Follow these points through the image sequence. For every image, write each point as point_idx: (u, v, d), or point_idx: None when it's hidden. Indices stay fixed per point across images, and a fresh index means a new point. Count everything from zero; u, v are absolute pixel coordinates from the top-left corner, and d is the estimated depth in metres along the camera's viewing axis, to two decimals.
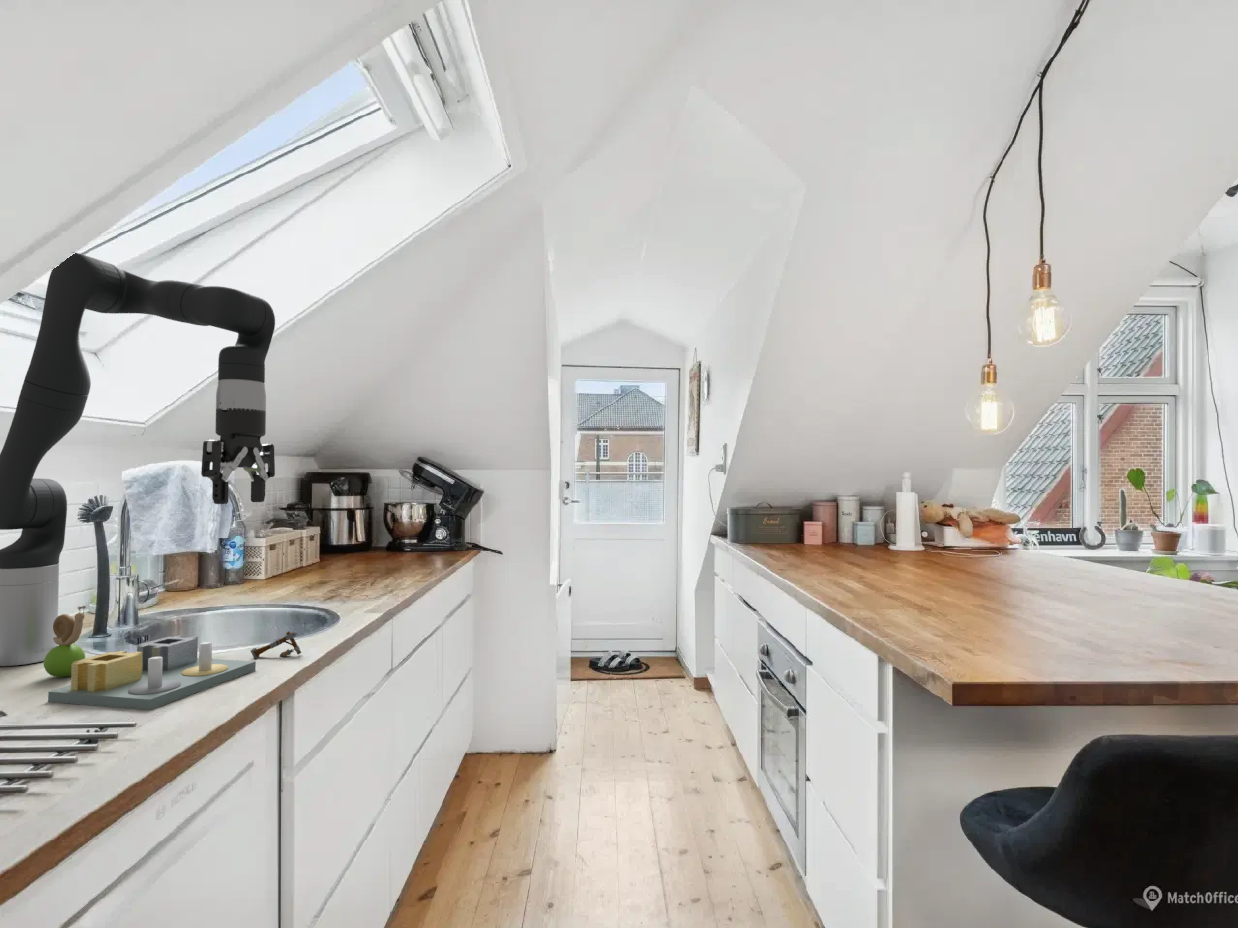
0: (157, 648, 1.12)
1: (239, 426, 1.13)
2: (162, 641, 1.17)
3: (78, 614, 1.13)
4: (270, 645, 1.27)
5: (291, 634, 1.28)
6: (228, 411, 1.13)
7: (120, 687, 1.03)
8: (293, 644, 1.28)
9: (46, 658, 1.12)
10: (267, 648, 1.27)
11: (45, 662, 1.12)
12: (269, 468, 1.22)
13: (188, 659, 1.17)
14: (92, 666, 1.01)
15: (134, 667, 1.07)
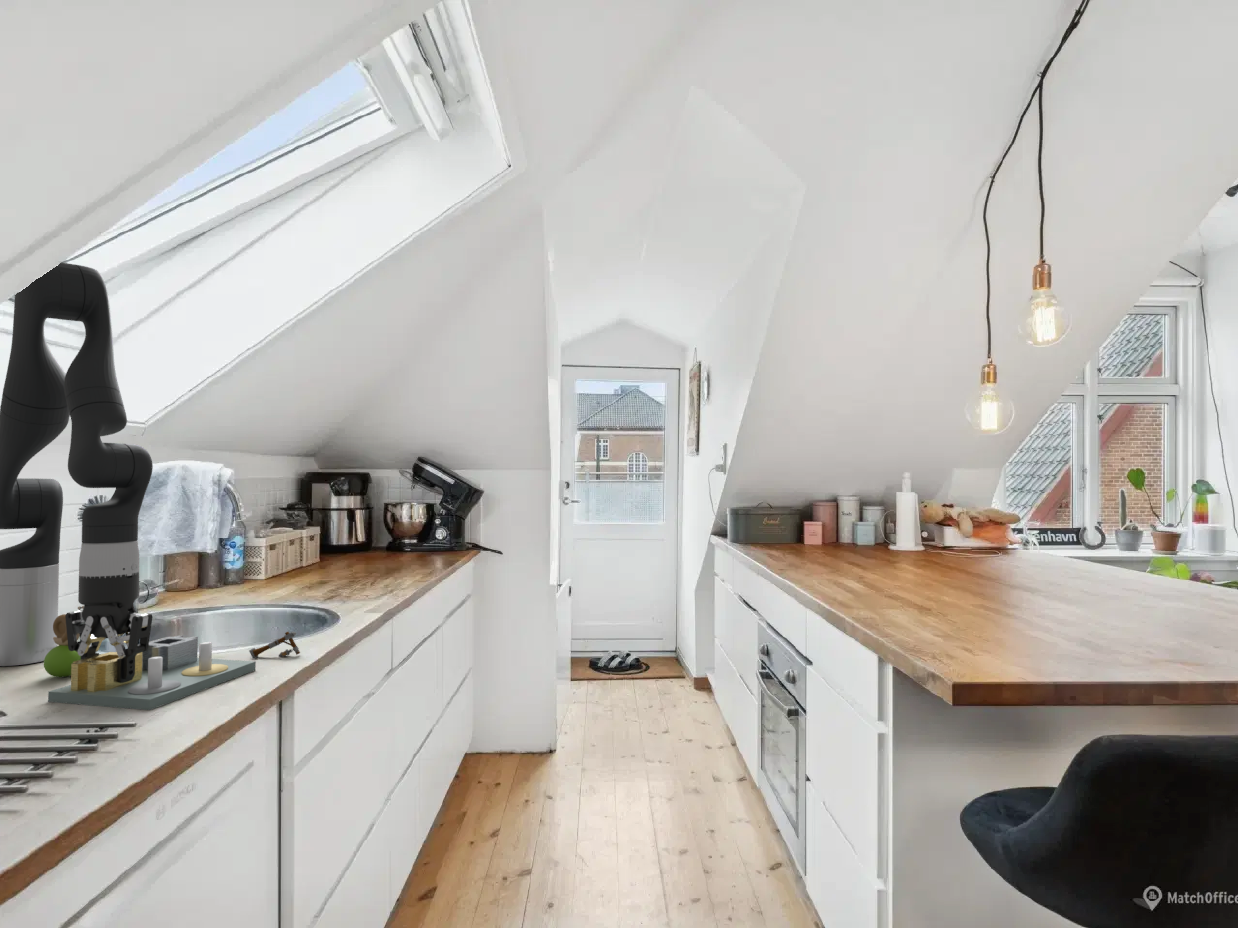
0: (157, 648, 1.12)
1: (138, 591, 1.07)
2: (162, 641, 1.17)
3: None
4: (269, 645, 1.27)
5: (290, 634, 1.28)
6: (133, 576, 1.06)
7: (120, 687, 1.03)
8: (292, 644, 1.28)
9: (46, 658, 1.12)
10: (266, 648, 1.27)
11: (45, 662, 1.12)
12: None
13: (188, 659, 1.17)
14: (92, 666, 1.01)
15: None
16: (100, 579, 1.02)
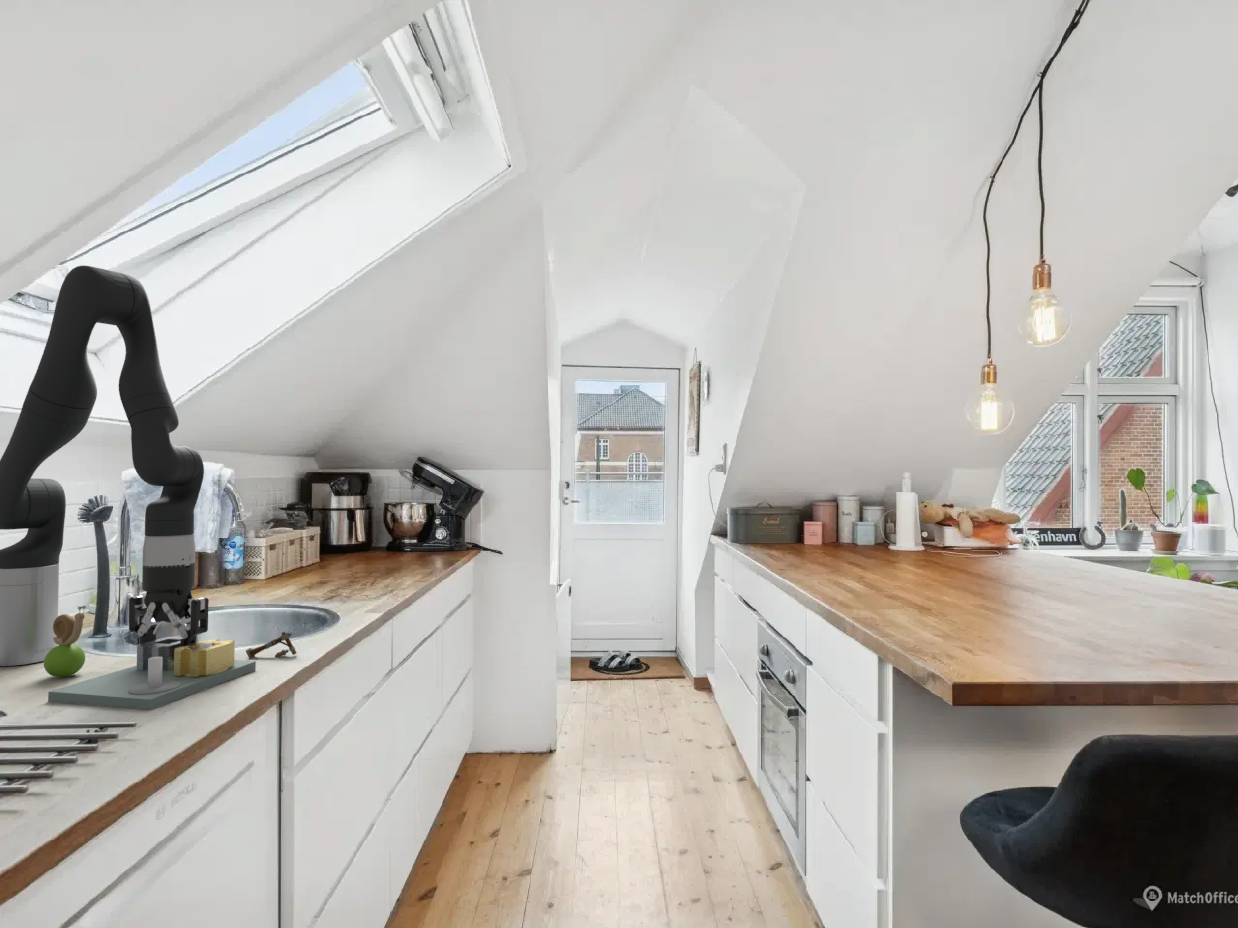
0: (157, 648, 1.12)
1: (194, 579, 1.18)
2: (162, 641, 1.17)
3: (78, 614, 1.13)
4: (265, 645, 1.27)
5: (286, 634, 1.27)
6: (190, 566, 1.16)
7: (120, 687, 1.03)
8: (288, 644, 1.28)
9: (46, 658, 1.12)
10: (262, 648, 1.27)
11: (45, 662, 1.12)
12: None
13: None
14: (194, 652, 1.08)
15: (229, 654, 1.14)
16: (162, 568, 1.13)
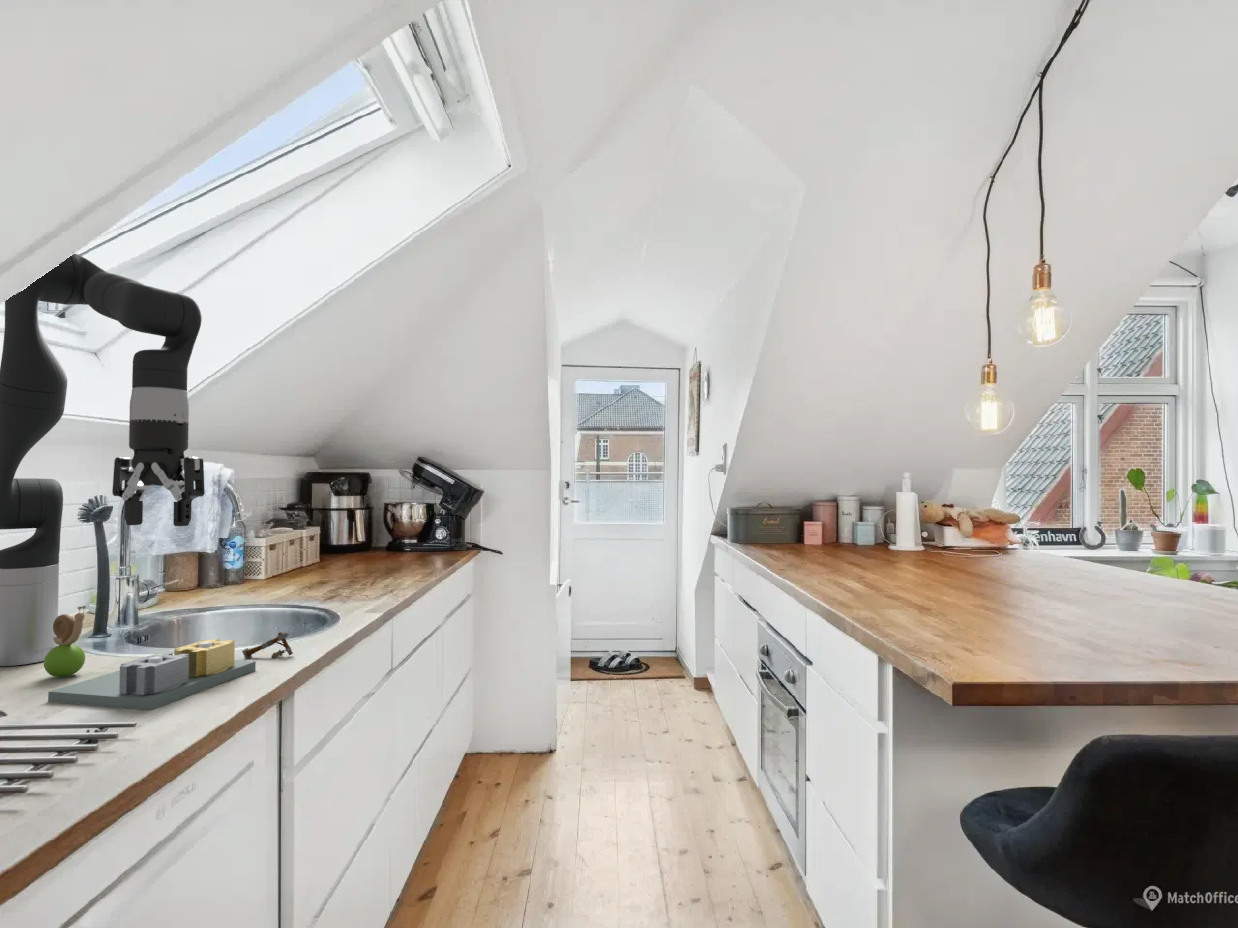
0: (142, 668, 0.99)
1: (187, 441, 1.06)
2: None
3: (78, 614, 1.13)
4: (262, 646, 1.27)
5: (282, 635, 1.27)
6: (183, 425, 1.04)
7: None
8: (285, 645, 1.27)
9: (46, 658, 1.12)
10: (259, 649, 1.27)
11: (45, 662, 1.12)
12: None
13: (178, 680, 1.04)
14: (194, 652, 1.08)
15: (229, 654, 1.14)
16: (152, 422, 1.01)
